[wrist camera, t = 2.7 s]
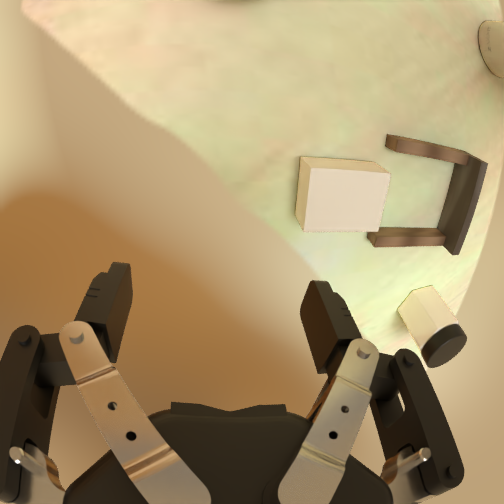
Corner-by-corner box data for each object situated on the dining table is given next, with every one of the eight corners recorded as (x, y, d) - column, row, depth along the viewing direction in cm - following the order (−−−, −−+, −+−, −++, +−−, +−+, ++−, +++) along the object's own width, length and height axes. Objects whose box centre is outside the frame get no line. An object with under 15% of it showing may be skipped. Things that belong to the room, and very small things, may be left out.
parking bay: (464, 151, 30) (487, 163, 26) (440, 236, 38) (458, 254, 34) (387, 134, 29) (410, 145, 25) (366, 237, 37) (382, 258, 33)
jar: (415, 323, 49) (441, 370, 39) (389, 317, 47) (416, 369, 37) (443, 289, 45) (476, 334, 35) (419, 279, 43) (455, 330, 33)
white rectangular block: (372, 160, 31) (391, 173, 27) (362, 213, 35) (378, 231, 31) (299, 155, 30) (310, 167, 26) (294, 212, 34) (303, 232, 30)
